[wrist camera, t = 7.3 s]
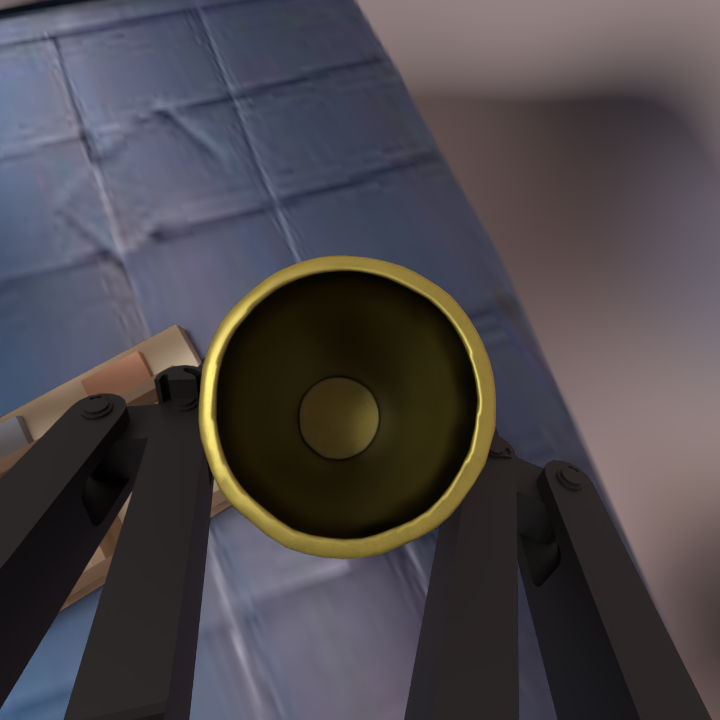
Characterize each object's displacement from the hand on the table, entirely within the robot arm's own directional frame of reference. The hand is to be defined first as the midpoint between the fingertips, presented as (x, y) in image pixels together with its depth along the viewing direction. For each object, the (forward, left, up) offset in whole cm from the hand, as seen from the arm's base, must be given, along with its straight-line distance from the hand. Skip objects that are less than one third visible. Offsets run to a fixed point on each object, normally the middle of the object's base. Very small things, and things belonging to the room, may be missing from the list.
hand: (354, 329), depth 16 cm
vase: (+3, -2, -5) cm, 6 cm away
